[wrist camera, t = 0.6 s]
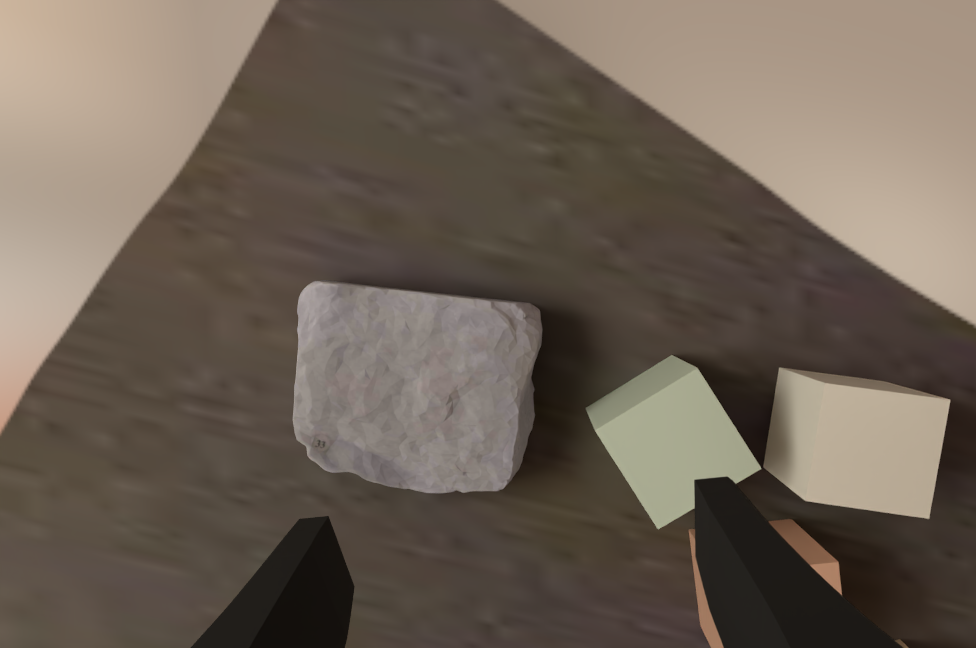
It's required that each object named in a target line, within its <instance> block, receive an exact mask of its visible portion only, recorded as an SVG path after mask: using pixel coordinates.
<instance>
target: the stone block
mask: <svg viewBox="0 0 976 648" xmlns="http://www.w3.org/2000/svg"><path fill="white" fill-rule="evenodd" d="M297 313H298V317H299V322H298V328H297V330H298V338H299V343H298V356H297V368H296V380H295V386H294V411H293V424H294V431H295V435H296V439H297V440H298V441H299V442H301V443H302V444H304V445H305V446H306V447H307V456H308V457H309V458H310V459H311V460H313V461H314V462H316V463H317V464H318V465H319V466H320V467H322V468H323V469H324V470H326V471H329V472H332V473H335V472H351V473H354V474H358V475H359V476H361V477H362V478H363V479H365V480H368V481H371V482H375V483H380V484H383V485H385V486H389V487H395V488H402V489H408V488H409V489H412V490H416V491H420V492H425V493H448V492H453V491H455V490H458V491H460V492H462V493H466V492H469V491H499V490H501V489H503V488H504V487H505V486H506V485H507V484H508V483H509V482H510V481H511V480H512V478H513V476H514V475H515V473H516V472H517V471H518V470H519V468H520V466H521V463H522V461H523V455H524V452H525V449H526V446H527V442H528V436H529V434H530V432H531V430H532V429H533V421H534V418H535V413H534V401H533V393H534V386H533V383H532V379H531V376H532V372H533V367H534V363H535V360H536V358H537V355H538V352H539V349H540V347H541V342H542V324H541V315H540V310H539V309H538V308H537V307H535V306H534V305H532V304H531V303H526V302H516V301H508V300H498V299H489V298H478V297H470V296H462V295H452V294H443V293H434V292H424V291H415V290H406V289H398V288H388V287H380V286H370V285H363V284H354V283H346V282H339V281H328V280H322V281H314V282H313V283H311V284H309V285H308V286H307V287H305V288H304V290H303V291H302V292H301V294H300V297H299V301H298V308H297Z"/></svg>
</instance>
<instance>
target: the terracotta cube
mask: <svg viewBox="0 0 976 648" xmlns="http://www.w3.org/2000/svg"><path fill="white" fill-rule="evenodd" d="M768 522H769V523H770V524H771V525H772V526H773V527H774V529H775V530H776V531H777V532H778V533H779V534H780V535H781V536H782V537H783V538H784V539H785V540H786V541H787V542H788V543H789V544H790V545H791V546H792V547H793V548H794V549H795V550H796V552H797V553H798V554H799V555H800V556H801V557H802V558H803V559H804V560H805V561H806V562H807V563H808V564H809V565H810V566H811V567H812V568H813V569H814V570H815V571H816V572H817V573H819V574H820V575H821V576H822V577H823V578H824V579H825V580H826V581H827V582H828V583H829V584H830V585H831V586H832V587H833V588H834V589H836V590H837V591H838V592H839V593H840V594H841V595H842V590H841V581H840V572H839V563H838V561H837V560H836V559H835V558H834V557H832V556H831V555H830V554H829V553H828V552H827V551H826V550H825V549H824V548H823V547H821V546H820V545H819V544H818V543H817V542H816V541H815V540H814V539H813V538H812V537H811V536H809V535H808V534H807V533H806V532H805V531H804V530H803V529H802V528H801V527H800V526H799V525H797V524H796V523H795V522H794V521H793V520H792V519H785V520H775V521H768ZM689 535H690V543H691V552H692V560H693V568H694V576H695V585H696V593H697V601H698V609H699V618H700V626H701V628H702V630H703V632H704V634H705V636H706V638H707V640H708V642H709V644H710V646H711V648H724V647H723V644H722V642H721V639H720V637H719V634H718V631H717V629H716V626H715V623H714V621H713V618H712V615H711V613H710V610H709V607H708V603H707V599H706V595H705V592H704V588H703V584H702V580H701V577H700V573H699V569H698V565H697V561H696V557H695V529H689Z"/></svg>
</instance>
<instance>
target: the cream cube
mask: <svg viewBox="0 0 976 648" xmlns="http://www.w3.org/2000/svg"><path fill="white" fill-rule="evenodd" d="M949 406H950V399H946V398H942V397H939V396H935V395H932V394H928V393H925V392H921V391H917V390H914V389H910V388H907V387H903V386H900V385H896V384H892V383H889V382H885V381H879V380H871V379H863V378H856V377H848V376H841V375H833V374H825V373H818V372H810V371H803V370H795V369H787V368H780V367H779V372H778V378H777V384H776V390H775V397H774V403H773V409H772V415H771V421H770V428H769V434H768V440H767V446H766V453H765V459H764V465H763V468H765V469H766V470H767V471H768V472H770V473H771V474H772V475H773V476H775V477H776V478H777V479H778V480H780V481H781V482H782V483H783V484H785V485H786V486H787V487H788V488H790V489H791V490H792V491H793V492H795V493H796V494H797V495H798V496H800V497H801V498H802V499H803V500H805V501H809V502H816V503H823V504H830V505H837V506H844V507H851V508H858V509H865V510H872V511H878V512H885V513H892V514H899V515H906V516H913V517H920V518H927V519H929V516H930V511H931V505H932V500H933V494H934V488H935V483H936V477H937V472H938V466H939V461H940V455H941V450H942V444H943V439H944V433H945V428H946V422H947V417H948V411H949Z"/></svg>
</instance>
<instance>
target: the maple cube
mask: <svg viewBox="0 0 976 648" xmlns="http://www.w3.org/2000/svg"><path fill="white" fill-rule="evenodd" d="M895 641H896V642H897V643H898V644H900V645H901V646H902V647H903V648H909V647H907V646H906V645H905V644H904V643H903V642H902V641H901V640H900V639H898V640H895Z"/></svg>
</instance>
